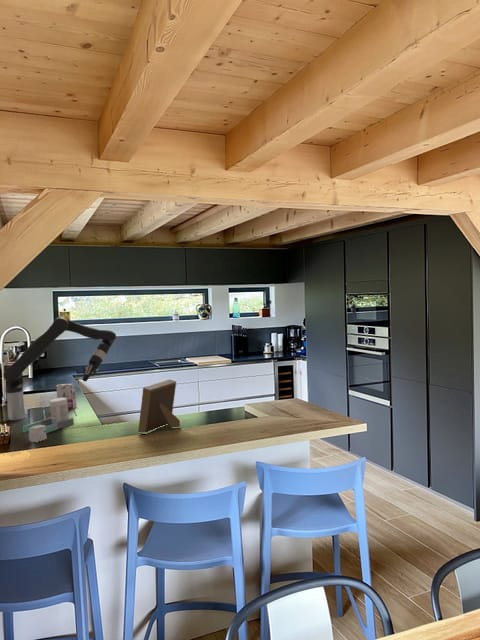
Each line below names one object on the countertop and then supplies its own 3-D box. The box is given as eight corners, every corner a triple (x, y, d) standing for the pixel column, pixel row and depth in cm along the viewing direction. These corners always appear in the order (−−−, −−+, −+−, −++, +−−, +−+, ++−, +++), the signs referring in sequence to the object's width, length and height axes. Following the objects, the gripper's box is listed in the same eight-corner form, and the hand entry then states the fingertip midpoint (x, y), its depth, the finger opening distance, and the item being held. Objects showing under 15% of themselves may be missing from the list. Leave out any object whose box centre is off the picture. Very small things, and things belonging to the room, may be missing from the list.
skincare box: (37, 442, 244) (35, 428, 243) (29, 441, 247) (28, 427, 246) (47, 439, 249) (45, 425, 249) (39, 438, 252) (38, 424, 252)
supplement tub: (69, 421, 284) (67, 396, 283) (69, 424, 275) (67, 399, 274) (52, 423, 281) (49, 399, 280) (51, 427, 272) (49, 402, 271)
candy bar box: (77, 407, 320) (74, 383, 319) (73, 409, 315) (71, 384, 314) (61, 407, 322) (59, 383, 321) (57, 409, 317) (55, 385, 316)
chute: (23, 432, 266) (22, 426, 265) (56, 421, 285) (55, 415, 284) (40, 434, 258) (40, 428, 258) (73, 423, 277) (73, 417, 276)
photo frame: (138, 434, 245) (134, 386, 244) (164, 423, 264) (161, 378, 263) (160, 437, 238) (157, 388, 236) (186, 425, 257) (183, 380, 255)
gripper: (86, 354, 305) (72, 376, 295) (101, 354, 298) (87, 377, 288) (93, 361, 309) (80, 383, 300) (108, 361, 302) (95, 384, 293)
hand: (84, 380), depth 294 cm, fingers closed
